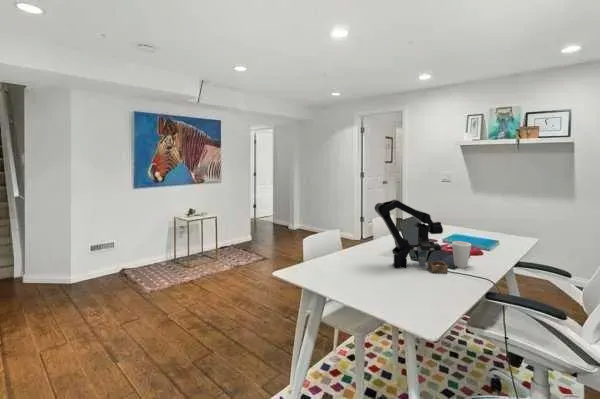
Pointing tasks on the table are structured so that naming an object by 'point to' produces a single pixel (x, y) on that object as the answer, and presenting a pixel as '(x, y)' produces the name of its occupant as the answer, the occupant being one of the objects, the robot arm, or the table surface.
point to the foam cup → (461, 253)
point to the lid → (420, 263)
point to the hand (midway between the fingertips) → (422, 261)
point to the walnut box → (437, 267)
